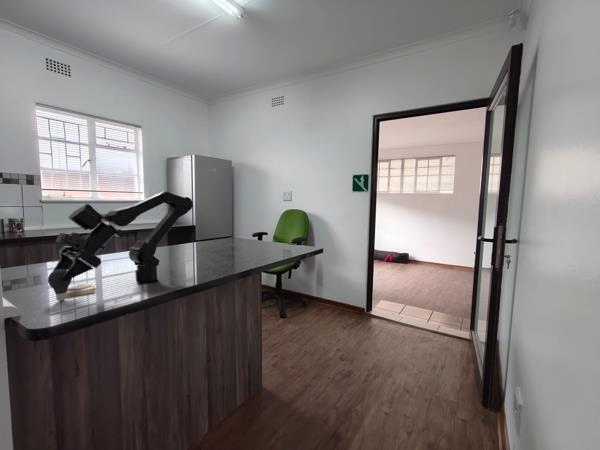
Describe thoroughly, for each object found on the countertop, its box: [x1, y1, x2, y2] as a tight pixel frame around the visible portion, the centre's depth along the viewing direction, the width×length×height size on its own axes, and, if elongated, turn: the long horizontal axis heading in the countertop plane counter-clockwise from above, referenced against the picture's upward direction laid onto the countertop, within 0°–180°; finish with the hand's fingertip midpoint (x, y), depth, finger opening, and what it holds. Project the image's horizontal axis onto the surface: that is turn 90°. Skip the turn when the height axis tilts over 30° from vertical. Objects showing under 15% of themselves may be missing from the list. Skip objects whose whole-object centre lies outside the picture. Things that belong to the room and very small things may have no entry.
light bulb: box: [47, 269, 73, 303], centre depth 85 cm, size 6×6×10 cm
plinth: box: [66, 282, 96, 298], centre depth 94 cm, size 9×9×2 cm
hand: (56, 278), depth 84 cm, fingers open, 9 cm apart
